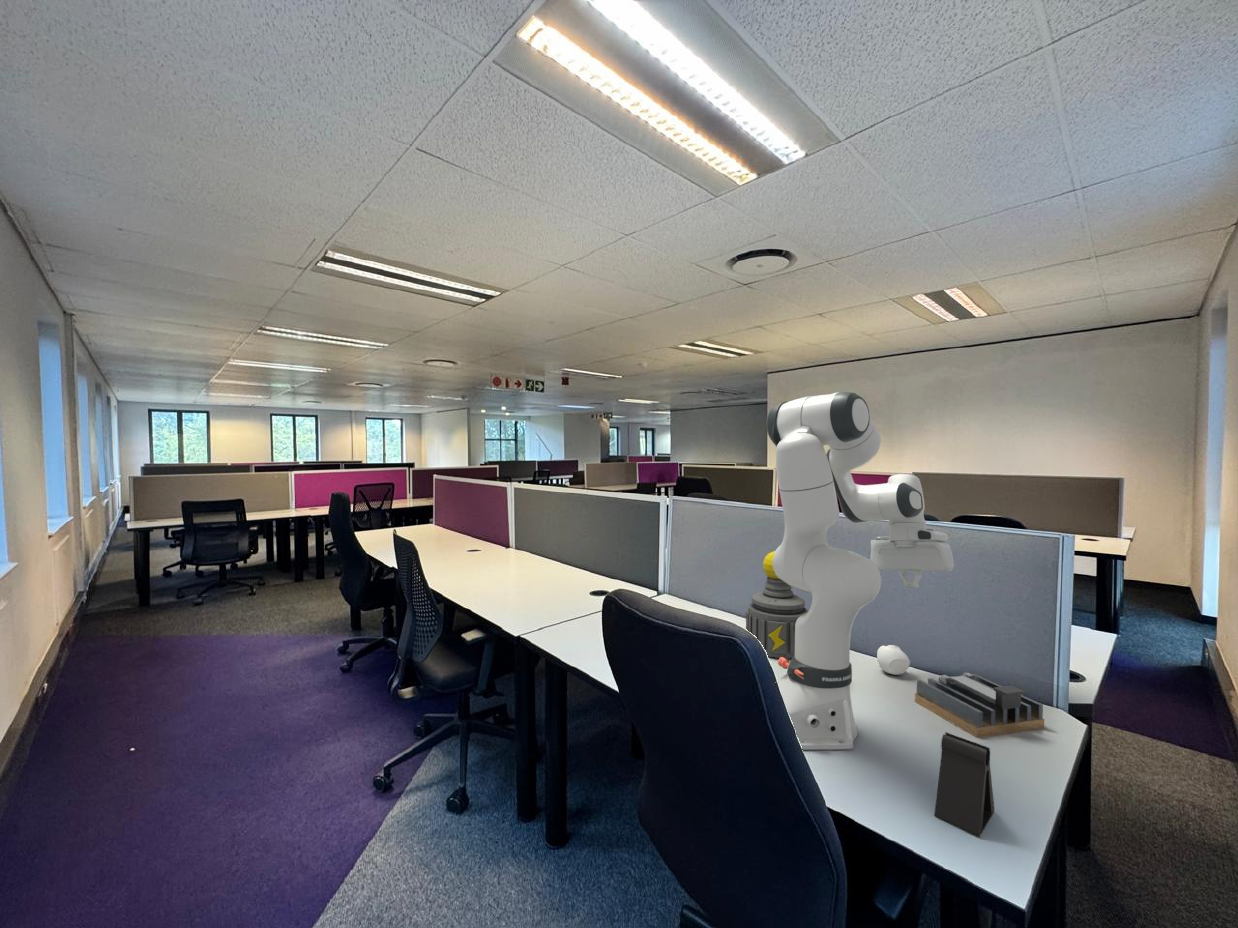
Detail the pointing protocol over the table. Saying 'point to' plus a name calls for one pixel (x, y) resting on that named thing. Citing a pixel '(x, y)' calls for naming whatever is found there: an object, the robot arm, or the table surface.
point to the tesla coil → (775, 614)
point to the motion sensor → (892, 659)
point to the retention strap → (975, 688)
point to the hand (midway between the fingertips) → (911, 588)
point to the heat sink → (980, 706)
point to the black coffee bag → (964, 785)
